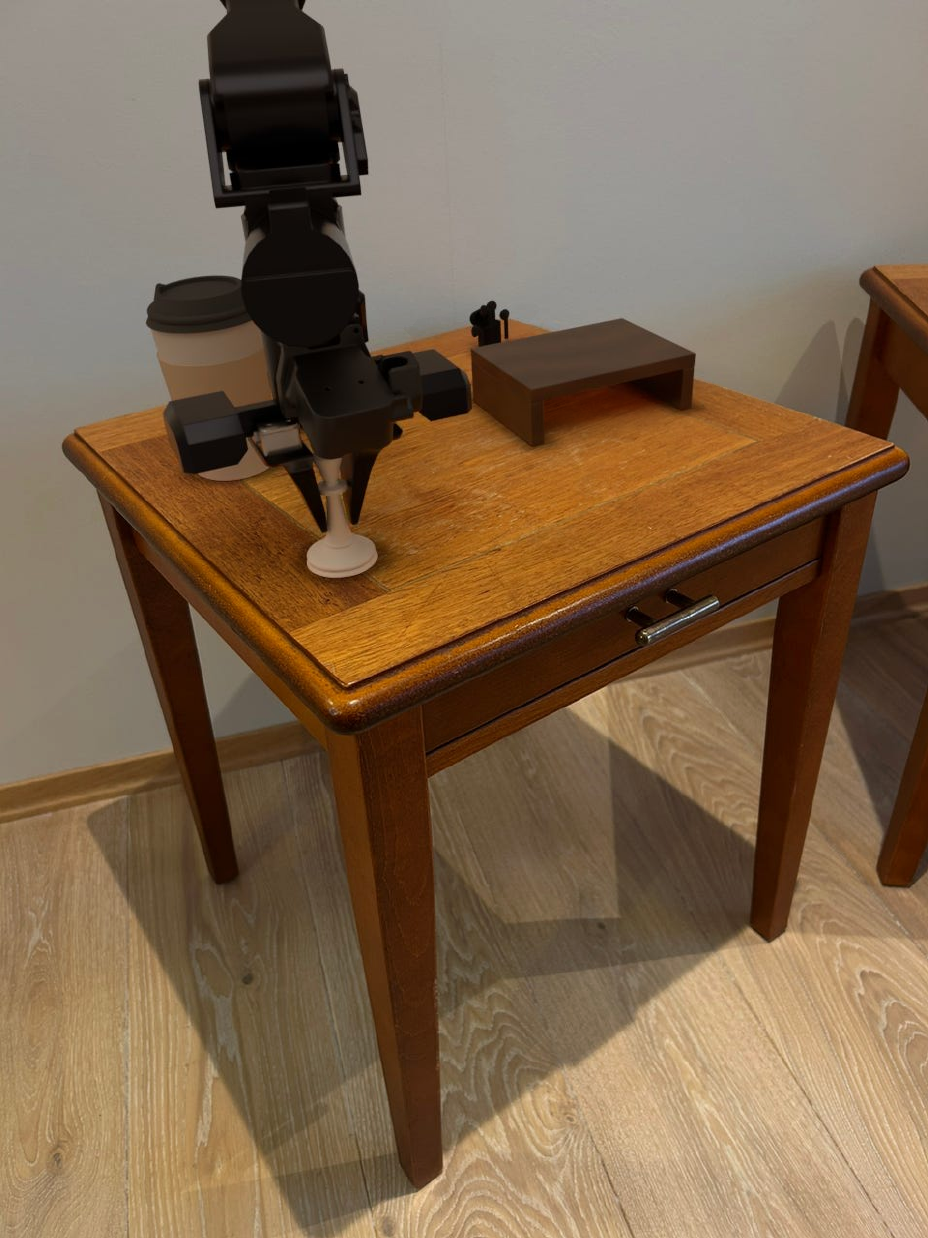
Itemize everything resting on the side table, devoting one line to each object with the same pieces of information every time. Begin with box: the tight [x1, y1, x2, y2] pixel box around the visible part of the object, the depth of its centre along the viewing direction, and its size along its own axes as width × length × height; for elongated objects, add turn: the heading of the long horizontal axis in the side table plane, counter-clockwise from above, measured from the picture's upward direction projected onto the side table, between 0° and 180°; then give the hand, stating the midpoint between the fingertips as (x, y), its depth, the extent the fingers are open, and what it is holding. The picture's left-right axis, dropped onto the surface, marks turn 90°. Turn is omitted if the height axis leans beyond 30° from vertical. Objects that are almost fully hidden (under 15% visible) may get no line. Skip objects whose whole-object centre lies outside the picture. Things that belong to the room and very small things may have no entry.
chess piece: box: [306, 452, 378, 579], centre depth 65 cm, size 5×5×10 cm
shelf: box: [470, 317, 697, 447], centre depth 87 cm, size 12×16×5 cm
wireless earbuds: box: [468, 300, 510, 347], centre depth 100 cm, size 7×2×5 cm, turn 147°
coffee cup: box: [145, 274, 273, 482], centre depth 78 cm, size 9×9×15 cm
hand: (337, 526), depth 66 cm, fingers closed on chess piece
